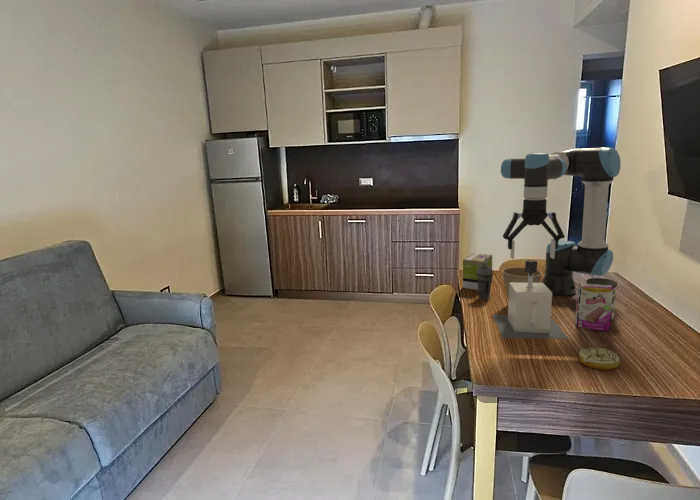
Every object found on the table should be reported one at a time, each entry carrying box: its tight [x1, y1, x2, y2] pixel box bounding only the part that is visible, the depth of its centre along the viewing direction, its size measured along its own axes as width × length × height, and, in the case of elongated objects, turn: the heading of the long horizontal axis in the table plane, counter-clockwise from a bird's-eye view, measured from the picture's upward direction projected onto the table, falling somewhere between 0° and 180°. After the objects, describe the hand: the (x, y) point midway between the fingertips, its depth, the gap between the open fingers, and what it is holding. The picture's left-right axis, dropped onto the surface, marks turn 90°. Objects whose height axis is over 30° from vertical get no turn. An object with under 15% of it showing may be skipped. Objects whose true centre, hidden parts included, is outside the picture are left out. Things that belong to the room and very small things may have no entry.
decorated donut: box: [578, 347, 620, 371], centre depth 133 cm, size 10×11×4 cm
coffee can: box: [586, 277, 618, 321], centre depth 168 cm, size 10×10×14 cm
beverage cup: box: [476, 256, 494, 301], centre depth 193 cm, size 7×7×20 cm
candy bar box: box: [574, 282, 615, 333], centre depth 157 cm, size 11×5×16 cm, turn 71°
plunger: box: [524, 259, 538, 288], centre depth 157 cm, size 10×10×24 cm
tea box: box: [462, 252, 493, 291], centre depth 212 cm, size 15×10×15 cm, turn 144°
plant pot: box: [502, 267, 543, 302], centre depth 180 cm, size 15×15×16 cm
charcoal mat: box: [492, 314, 570, 340], centre depth 160 cm, size 22×22×1 cm
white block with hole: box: [507, 282, 553, 333], centre depth 157 cm, size 12×15×15 cm
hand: (532, 257), depth 155 cm, fingers open, 13 cm apart
